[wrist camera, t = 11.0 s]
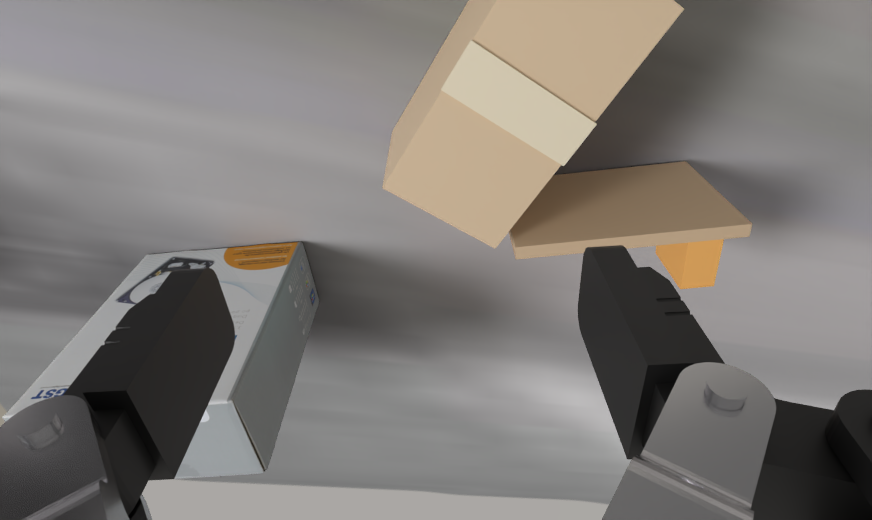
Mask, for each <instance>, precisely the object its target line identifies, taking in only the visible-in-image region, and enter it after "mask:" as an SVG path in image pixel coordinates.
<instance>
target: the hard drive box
mask: <svg viewBox="0 0 872 520" xmlns="http://www.w3.org/2000/svg"><path fill="white" fill-rule="evenodd" d="M197 268H211V269H213V270H214V272H215V273H216V275H217V277H218V280H219V283H220V286H221V289H222V291H223V294H224V297H225V300H226V303H227V306H228V309H229V312H230V314H231V317H232V320H233V323H234V328H235V343H234V348H233V351H232V353H231V355H230V358H229V360H228V362H227V364H226V366H225V369H224V371H223V373H222V375H221V377H220V380H219V382H218V384H217V386H216V388H215V390H214V393H213V395H212V397H211V399H210V401H209V404H208V406H207V408H206V410H205V412H204V415H203V417H202V419H201V421H200V423H199V426H198V428H197V430H196V432H195V434H194V437H193V439H192V441H191V443H190V445H189V447H188V450H187V452H186V454H185V456H184V458H183V461H182V463H181V465H180V467H179V469H178V472H177V474H176V476H175V478H174V479H178V478H198V477H212V476H229V475H245V474H259V473H264V471H265V470H267V468H268V465H269V462H270V459H271V456H272V453H273V449H274V447H275V442H276V439H277V436H278V432H279V430H280V426H281V422H282V419H283V416H284V413H285V410H286V407H287V404H288V400H289V397H290V394H291V391H292V388H293V385H294V382H295V378H296V375H297V371H298V368H299V365H300V362H301V358H302V355H303V352H304V348H305V345H306V342H307V339H308V335H309V332H310V329H311V326H312V323H313V320H314V316H315V313H316V310H317V308H318V305H319V298H318V294H317V291H316V287H315V283H314V280H313V276H312V273H311V270H310V266H309V262H308V259H307V256H306V252H305V249H304V246H303V243H302V242H293V243H280V244H260V245H253V246H244V247H233V248H221V249H208V250H196V251H194V250H188V251H178V252H170V253H161V254H150V255H146V256H145V257H144V258H143V260H142V261H141V262H140V263H139V264H138V265H137V266H136V267H135V269H134V270H133V271H132V272H131V273H130V274H129V275H128V276H127V278H126V279H125V280H124V281H123V282H122V283H121V284H120V286H119V287H118V288H117V289H116V290H115V291H114V292H113V294H112V295H111V296H110V297H109V298H108V299H107V300H106V302H105V303H104V304H103V305H102V306H101V307H100V308H99V310H98V311H97V312H96V313H95V314H94V315H93V316H92V317H91V319H90V320H89V321H88V322H87V323H86V324H85V325H84V327H83V328H82V329H81V330H80V331H79V332H78V333H77V334H76V336H75V337H74V338H73V339H72V340H71V341H70V342H69V344H68V345H67V346H66V347H65V348H64V349H63V350H62V351H61V353H60V354H59V355H58V356H57V357H56V358H55V359H54V361H53V362H52V363H51V364H50V365H49V366H48V367H47V368H46V370H45V371H44V372H43V373H42V374H41V375H40V376H39V378H38V379H37V380H36V381H35V382H34V383H33V384H32V385H31V387H30V388H29V389H28V390H27V391H26V392H25V393H24V395H23V396H22V397H21V398H20V399H19V400H18V401H17V402H16V404H15V405H14V406H13V407H12V408H11V409H10V410H9V411H8V412H7V413H6V414H5V415H4V416H3V419H4V421H5V422H6V421H7V420H8V419H10V418H11V417H12V416H14V415H15V414H17V413H18V412H19V411H21V410H23V409H25V408H26V407H28V406H30V405H32V404H34V403H37V402H39V401H42V400H44V399H48V398H51V397H56V396H63V394H64V393H65V392H66V390H67V389H68V388H69V387H70V385H71V384H72V383H73V381H74V380H75V379H76V377H77V376H78V375H79V374H80V372H81V371H82V370H83V368H84V367H85V366H86V364H87V363H88V362H89V361H90V359H91V358H92V357H93V355H94V354H95V353H96V352H97V350H98V349H99V348H100V346H101V345H104V344H105V342H104V341H105V340H106V339H107V337H108V336H109V335H110V333H111V332H112V331H113V330H116V326H117V324H118V323H119V322H120V320H121V319H122V318H123V316H124V315H125V314H126V313H127V311H128V310H129V309H130V308H132V307H133V306H134V305H136V304H137V303H138V302H140V301H141V300H142V299H144V298H145V297H147V296H148V295H149V294H155V293H156V291H157V290H158V289H159V287H160V286H161V285H162V283H163V282H164V281H165V279H166V278H167V276H168V275H169V274H170V273H171V272H172V271H173V270H179V269H197ZM163 480H164V479H163Z"/></svg>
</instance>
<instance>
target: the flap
mask: <svg viewBox="0 0 872 520" xmlns="http://www.w3.org/2000/svg"><path fill="white" fill-rule="evenodd" d="M751 228H752V223H751V222H750V221H749V220H748V219H747V218H746V217H745V216H743V215H742V214H741V213H740V212H739V211H738V210H737V209H736V208H735V207H734V206H733V205H732V204H731V203H730V202H729V201H728V200H726V199H725V198H724V197H723V196H722V195H721V194H720V193H719V192H718V191H717V190H716V189H715V188H714V187H713V186H712V185H711V184H709V183H708V182H707V181H706V180H705V179H704V178H703V177H702V176H701V175H700V174H699V173H698V172H697V171H696V170H695V169H694V168H692V167H691V166H690V165H689V164H688V163H687V162H686V161H683V162H674V163H664V164H655V165H645V166H636V167H626V168H617V169H608V170H598V171H589V172H579V173H570V174H560V175H553V176H552V177H551V179H550V180H549V181H548V182H547V184H546V185H545V186H544V188H543V189H542V190H541V191H540V193H539V194H538V195H537V196H536V198H535V199H534V200H533V202H532V203H531V204H530V205H529V207H528V208H527V209H526V210H525V212H524V213H523V214H522V215H521V217H520V218H519V219H518V221H517V222H516V223H515V224H514V226H513V227H512V228H511V229H510V231H509V235H510V238H511V242H512V246H513V250H514V254H515V258H516V259H525V258H536V257H546V256H556V255H566V254H576V253H584V251H585V249H586V248H587V247H599V246H616V245H623V246H624V247H625V248H626V249H628V248H638V247H648V246H656V254H657V256H658V257H659V259H660V260H661V262H662V263H663V264H664V266H665V267H666V269H667V270H668V272H669V273H670V275H671V276H672V278H673V279H674V281H675V282H676V284H677V285H678V287H679V288H680V289H687V288H698V287H708V286H714V283H715V278H716V273H717V269H718V264H719V260H720V255H721V250H722V246H723V241H724V239H730V238H740V237H749V236H750V232H751Z"/></svg>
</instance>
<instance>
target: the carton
mask: <svg viewBox="0 0 872 520" xmlns="http://www.w3.org/2000/svg"><path fill="white" fill-rule="evenodd" d="M683 10H684V8H683V7H681V6H680V5H679V4H678V3H676V2H675V1H674V0H469V1H468V3H467V4H466V6H465V8H464V9H463V11H462V13H461V15H460V16H459V18H458V20H457V21H456V23H455V25H454V27H453V28H452V30H451V32H450V33H449V35H448V37H447V39H446V40H445V42H444V44H443V45H442V47H441V49H440V51H439V52H438V54H437V56H436V57H435V59H434V61H433V63H432V64H431V66H430V68H429V69H428V71H427V73H426V75H425V76H424V78H423V80H422V81H421V83H420V85H419V87H418V88H417V90H416V92H415V93H414V95H413V97H412V99H411V100H410V102H409V104H408V105H407V107H406V109H405V111H404V112H403V114H402V116H401V117H400V119H399V121H398V123H397V124H396V126H395V128H394V129H393V131H392V136H391V142H390V148H389V153H388V159H387V165H386V171H385V176H384V182H383V189H385V190H387V191H389V192H391V193H392V194H394V195H396V196H398V197H400V198H402V199H404V200H405V201H407V202H409V203H411V204H413V205H415V206H417V207H419V208H420V209H422V210H424V211H426V212H428V213H430V214H432V215H433V216H435V217H437V218H439V219H441V220H443V221H445V222H446V223H448V224H450V225H452V226H454V227H456V228H458V229H459V230H461V231H463V232H465V233H467V234H469V235H471V236H472V237H474V238H476V239H478V240H480V241H482V242H484V243H486V244H487V245H489V246H491V247H493V248H496V247H497V246H498V245H499V243H500V242H501V241H502V240H503V238H504V237H505V236H506V234H507V233H508V232H509V231H510V229H511V228H512V227H513V226H514V224H515V223H516V222H517V221H518V219H519V218H520V217H521V215H522V214H523V213H524V212H525V210H526V209H527V208H528V207H529V205H530V204H531V203H532V202H533V200H534V199H535V198H536V196H537V195H538V194H539V193H540V191H541V190H542V189H543V188H544V186H545V185H546V184H547V182H548V181H549V180H550V179H551V177H552V176H553V175H554V174H555V172H556V171H557V170H558V169H559V167H560V166H561V165H562V166H564V165H565V164H566V163H567V162H568V160H569V159H570V158H571V156H572V155H573V154H574V153H575V151H576V150H577V149H578V148H579V146H580V145H581V144H582V143H583V141H584V140H585V139H586V138H587V136H588V135H589V134H590V132H591V131H592V130H593V129H594V127H595V126H596V125H597V124H596V123H595V122H596V120H597V119H598V118H599V117H600V115H601V114H602V113H603V111H604V110H605V109H606V108H607V106H608V105H609V104H610V103H611V101H612V100H613V99H614V97H615V96H616V95H617V94H618V92H619V91H620V90H621V89H622V87H623V86H624V85H625V84H626V82H627V81H628V80H629V78H630V77H631V76H632V75H633V73H634V72H635V71H636V70H637V68H638V67H639V66H640V64H641V63H642V62H643V61H644V59H645V58H646V57H647V56H648V54H649V53H650V52H651V51H652V49H653V48H654V47H655V45H656V44H657V43H658V42H659V40H660V39H661V38H662V37H663V35H664V34H665V33H666V32H667V30H668V29H669V28H670V26H671V25H672V24H673V23H674V21H675V20H676V19H677V18H678V16H679V15H680V14H681V12H682V11H683Z"/></svg>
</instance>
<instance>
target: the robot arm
mask: <svg viewBox="0 0 872 520" xmlns="http://www.w3.org/2000/svg"><path fill="white" fill-rule="evenodd" d="M578 320H579V327H580V331H581V334H582V337H583V340H584V343H585V345H586V348H587V351H588V354H589V356H590V359H591V362H592V364H593V367H594V370H595V373H596V375H597V378H598V381H599V383H600V386H601V389H602V392H603V394H604V397H605V400H606V403H607V405H608V408H609V411H610V413H611V416H612V419H613V422H614V424H615V427H616V430H617V432H618V435H619V438H620V441H621V443H622V446H623V449H624V452H625V454H626V457H627V459H632V460H631V462H630V464H629V466H628V467H627V469H626V471H625V473H624V476H623V478H622V480H621V482H620V484H619V486H618V488H617V490H616V492H615V494H614V496H613V498H612V500H611V502H610V504H609V506H608V508H607V510H606V512H605V514H604V516H603V518H602V520H872V390H856V391H852V392H849V393H847V394H845V395H844V396H843V397H841V399H840V400H839V402H838V404H837V406H836V408H835V410H829V409H823V408H818V407H813V406H807V405H802V404H797V403H791V402H787V401H782V400H778V399H775V398H774V397H773V395H772V394H771V392H770V391H769V389H768V388H767V387H766V386H765V385H764V384H763V383H762V382H761V381H759V380H758V379H757V378H755V377H754V376H752V375H751V374H749V373H747V372H745V371H743V370H741V369H739V368H736V367H733V366H730V365H727V364H725V363H724V362H723V360H722V359H721V357H720V356H719V354H718V353H717V351H716V350H715V348H714V347H713V345H712V344H711V342H710V341H709V339H708V338H707V336H706V335H705V333H704V332H703V330H702V329H701V327H700V326H699V324H698V323H697V321H696V320H695V318H694V317H693V315H690V311H689V309H688V308H687V306H686V305H685V303H684V302H683V301H681V297H680V296H679V294H678V293H677V291H676V290H675V288H674V287H673V285H672V284H671V282H670V281H669V280H668V279H666V278H665V277H664V276H662V275H661V274H659V273H658V272H656V271H655V270H654V269H652V268H651V267H640V268H637V266H636V265H635V263H634V261H633V260H632V258H631V256H630V255H629V253H628V251H627V250H626V248H625V247H624V246H623V245H616V246H599V247H587V248H586V249H585V251H584V256H583V264H582V273H581V282H580V292H579V301H578ZM104 342H105V344H104V345H101V346H100V348H99V349H98V350H97V352H96V353H95V354H94V355H93V357H92V358H91V359H90V361H89V362H88V363H87V364H86V366H85V367H84V368H83V370H82V371H81V372H80V374H79V375H78V376H77V377H76V379H75V380H74V381H73V383H72V384H71V385H70V387H69V388H68V389H67V390H66V392H65V393H64V394H63V396H56V397H51V398H48V399H44V400H42V401H39V402H37V403H34V404H32V405H30V406H28V407H26V408H25V409H23V410H21V411H19V412H18V413H17V414H15V415H14V416H12V417H11V418H10V419H8V420H7V421H6V422H5V423H4V424H3V425H2V426H1V427H0V520H152V518H151V514H150V511H149V509H148V506H147V503H146V501H145V499H144V497H143V495H142V492H143V490H144V488H145V486H146V484H147V482H148V480H162V479H174V478H175V476H176V474H177V472H178V469H179V467H180V465H181V463H182V461H183V458H184V456H185V454H186V452H187V450H188V447H189V445H190V443H191V441H192V439H193V437H194V434H195V432H196V430H197V428H198V426H199V423H200V421H201V419H202V417H203V415H204V412H205V410H206V408H207V406H208V404H209V401H210V399H211V397H212V395H213V393H214V390H215V388H216V386H217V384H218V382H219V380H220V377H221V375H222V373H223V371H224V369H225V366H226V364H227V362H228V360H229V358H230V355H231V353H232V351H233V348H234V343H235V328H234V323H233V320H232V317H231V314H230V312H229V309H228V306H227V303H226V300H225V297H224V294H223V291H222V289H221V286H220V283H219V280H218V277H217V275H216V273H215V272H214V270H213V269H211V268H197V269H179V270H173V271H172V272H171V273H170V274H169V275H168V276H167V278H166V279H165V281H164V282H163V283H162V285H161V286H160V287H159V289H158V290H157V291H156V293H155V294H149V295H148V296H147V297H145V298H144V299H142V300H141V301H140V302H138V303H137V304H136V305H134V306H133V307H132V308H130V309H129V310H128V311H127V313H126V314H125V315H124V316H123V318H122V319H121V320H120V322H119V323H118V324H117V326H116V330H113V331H112V332H111V333H110V335H109V336H108V337H107V339H106V340H105V341H104Z"/></svg>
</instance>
